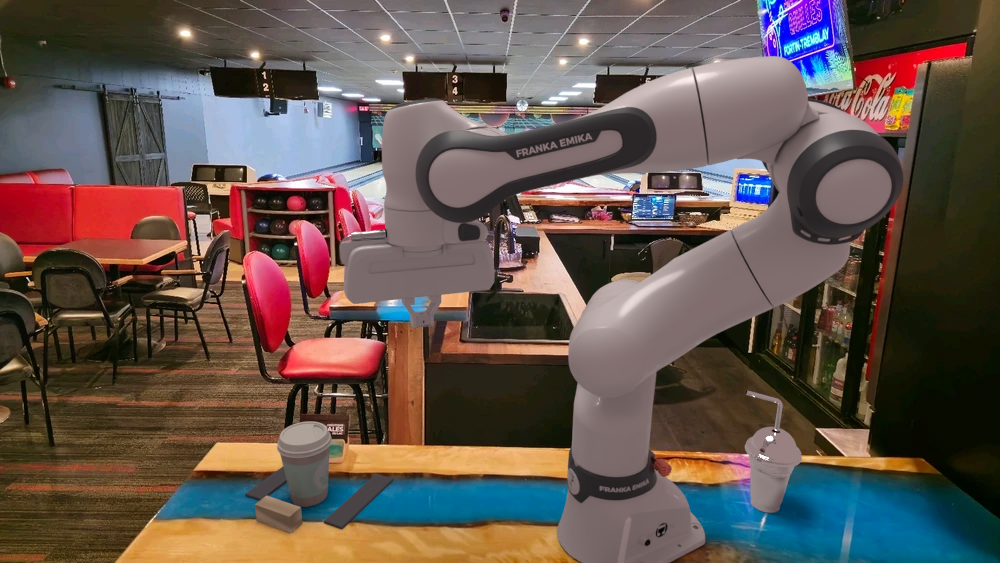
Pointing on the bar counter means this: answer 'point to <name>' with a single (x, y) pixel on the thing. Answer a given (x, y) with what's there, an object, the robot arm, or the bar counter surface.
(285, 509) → the maple block
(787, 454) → the cup with straw
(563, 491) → the bar counter surface
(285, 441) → the coffee cup
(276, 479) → the gutter strips
